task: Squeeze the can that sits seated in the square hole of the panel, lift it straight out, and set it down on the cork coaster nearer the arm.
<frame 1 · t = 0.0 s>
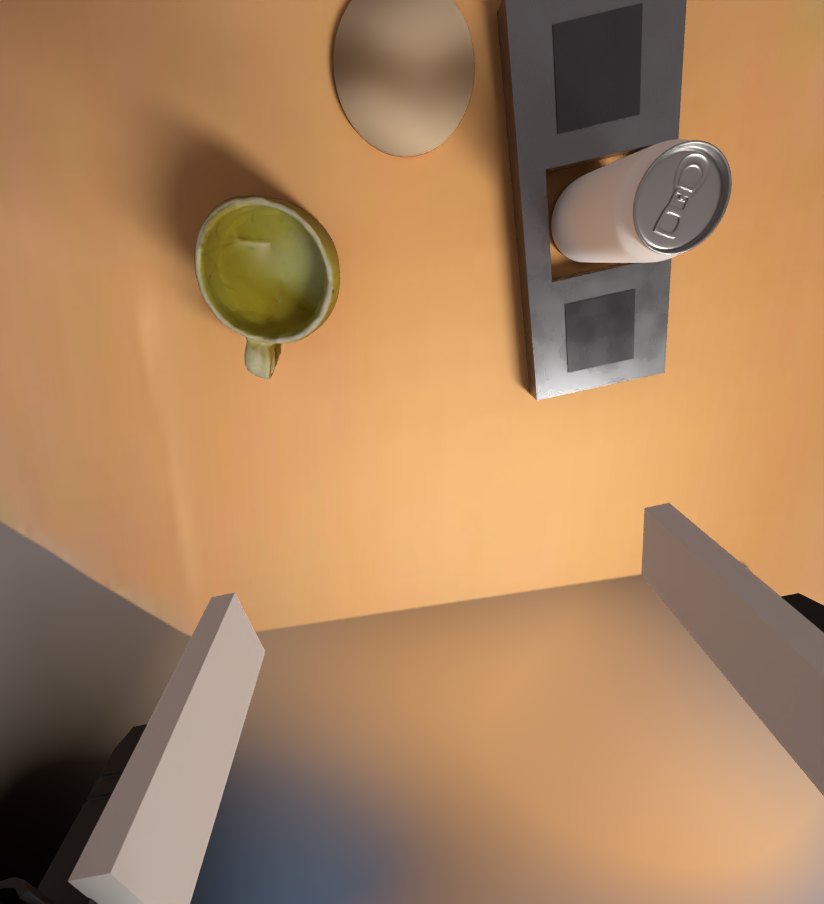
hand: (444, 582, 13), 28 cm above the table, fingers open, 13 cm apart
can: (586, 219, 35), resting in panel
coaster: (404, 72, 30), on the table
mug: (285, 288, 35), on the table
panel: (587, 219, 34), on the table
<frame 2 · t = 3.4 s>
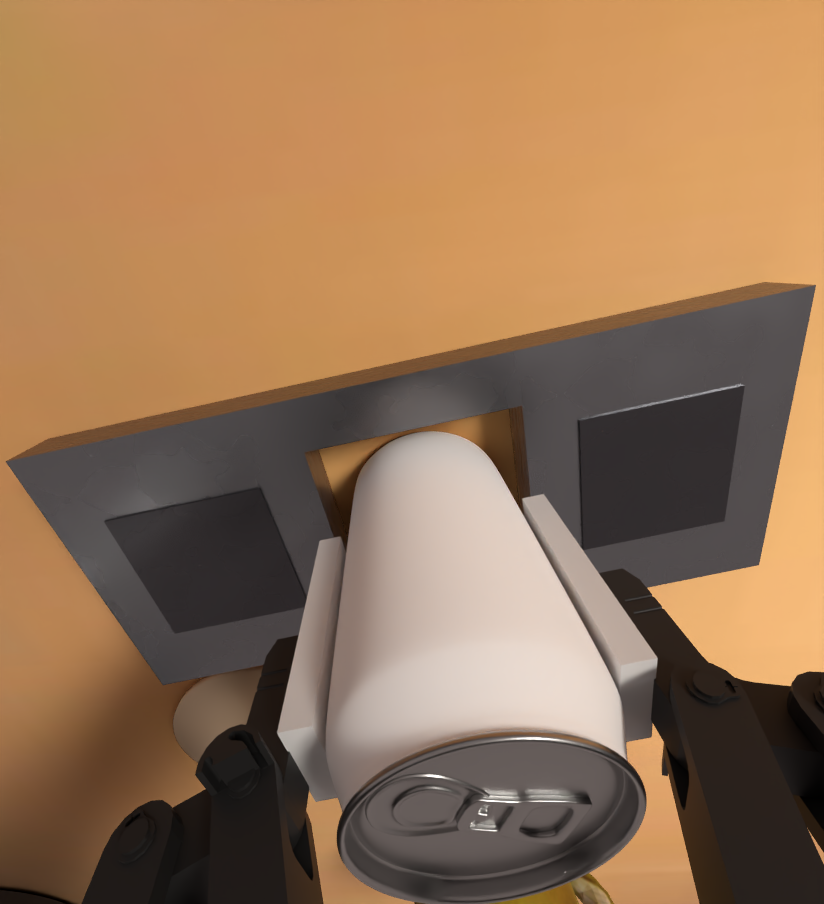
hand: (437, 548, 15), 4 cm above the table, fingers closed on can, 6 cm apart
can: (426, 492, 18), resting in panel, touching gripper
coaster: (266, 723, 24), on the table
mug: (493, 798, 30), on the table
panel: (427, 494, 18), on the table
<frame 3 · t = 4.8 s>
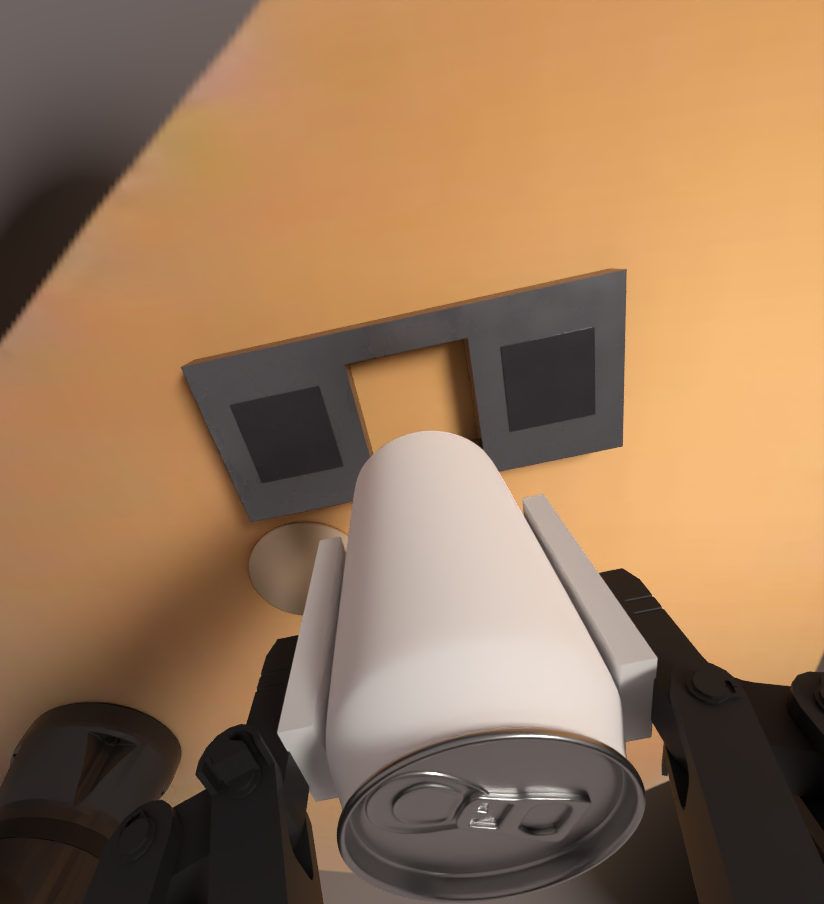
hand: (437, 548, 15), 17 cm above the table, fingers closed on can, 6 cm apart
can: (426, 491, 19), point 12 cm above the table, touching gripper
coaster: (309, 569, 36), on the table
panel: (416, 400, 30), on the table
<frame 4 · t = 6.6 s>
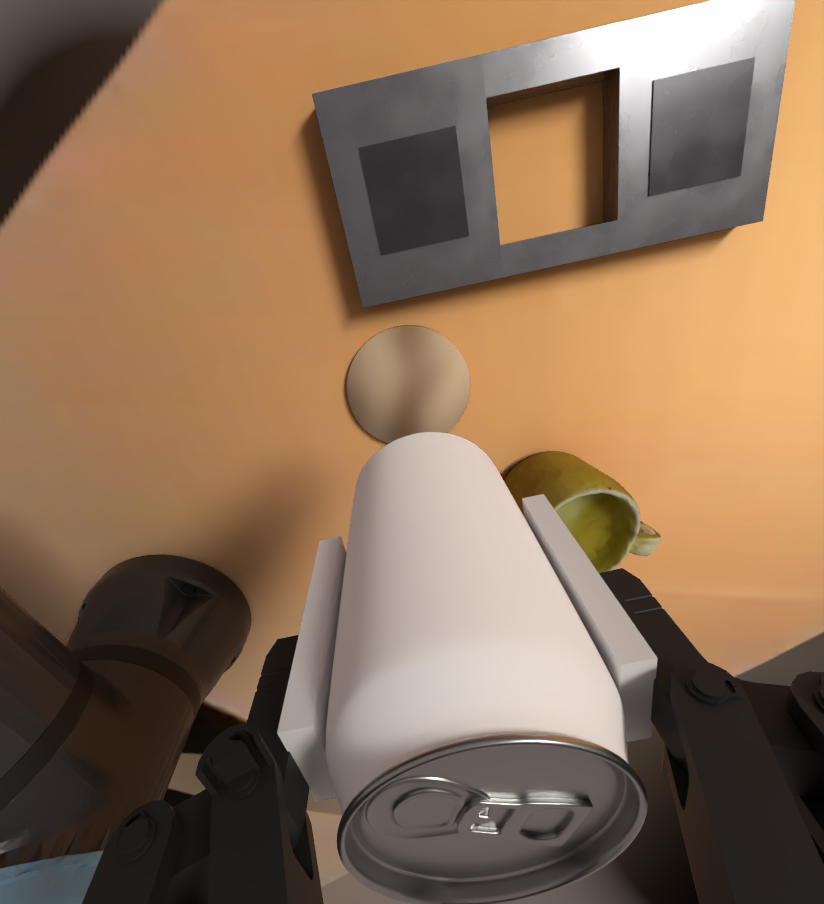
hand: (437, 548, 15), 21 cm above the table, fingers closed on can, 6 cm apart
can: (427, 493, 18), point 17 cm above the table, touching gripper
coaster: (408, 388, 34), on the table
mug: (559, 492, 39), on the table
panel: (544, 169, 28), on the table
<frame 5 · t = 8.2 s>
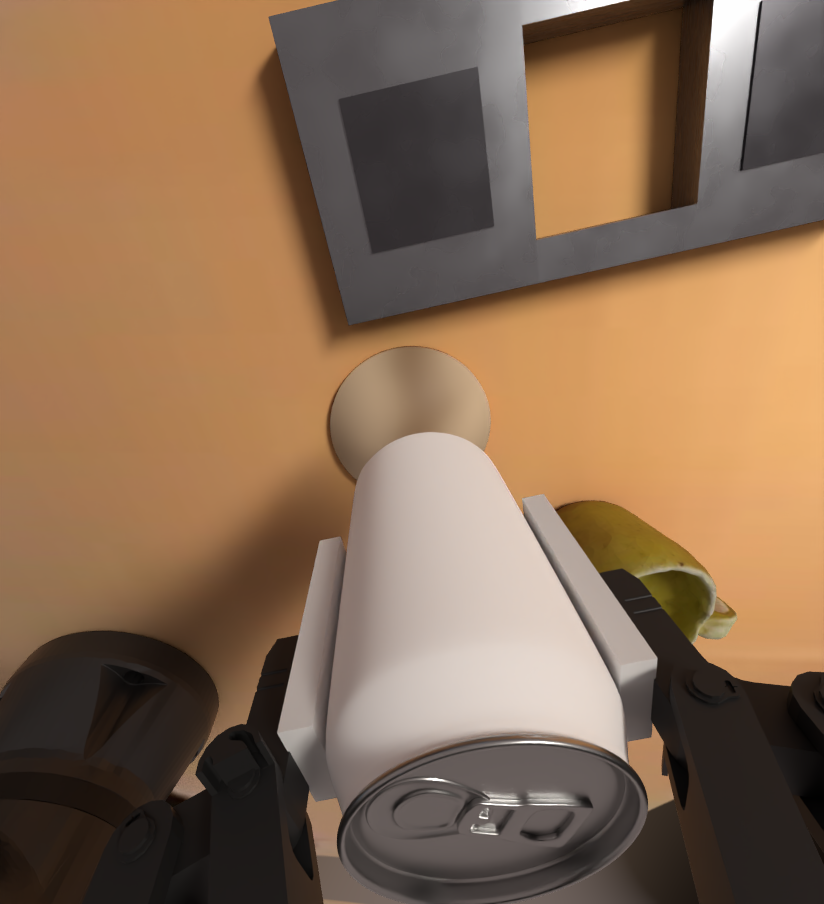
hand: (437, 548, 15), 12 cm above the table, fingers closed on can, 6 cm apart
can: (427, 493, 18), point 8 cm above the table, touching gripper
coaster: (410, 426, 26), on the table
mug: (598, 546, 32), on the table
panel: (596, 134, 20), on the table
when the fingers open (5 cm above the table, at t = 9.8 s): can drops 1 cm, resting on coaster.
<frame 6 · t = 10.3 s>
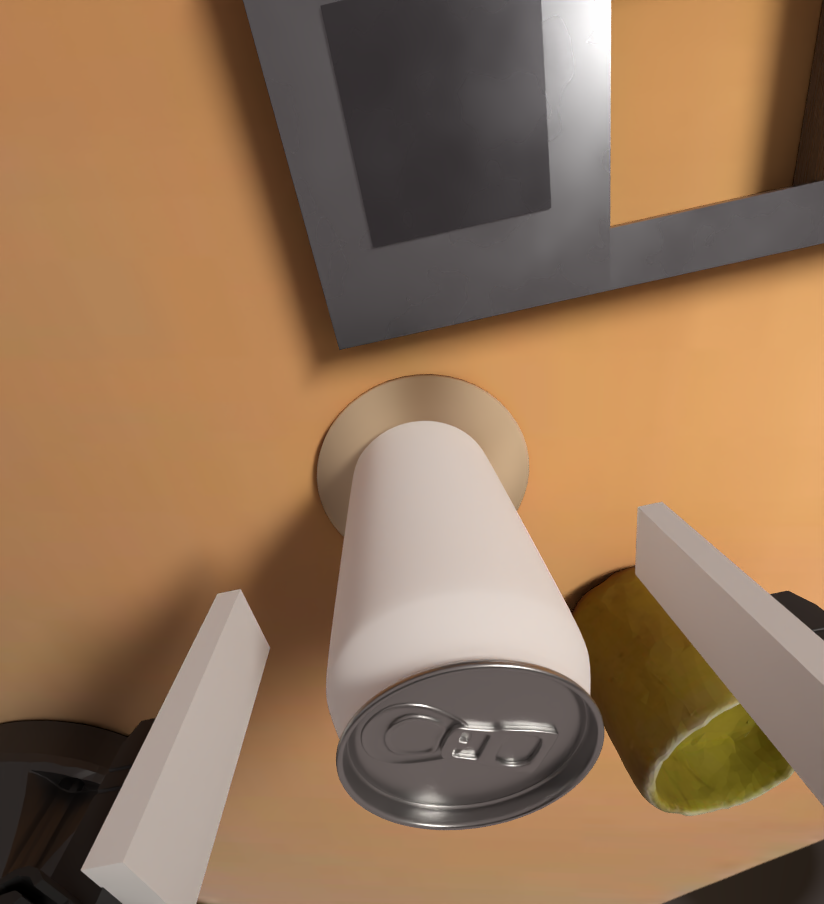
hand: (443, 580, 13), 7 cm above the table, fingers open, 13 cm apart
can: (421, 479, 20), resting on coaster
coaster: (423, 476, 20), on the table
mug: (654, 616, 25), on the table
panel: (697, 75, 14), on the table
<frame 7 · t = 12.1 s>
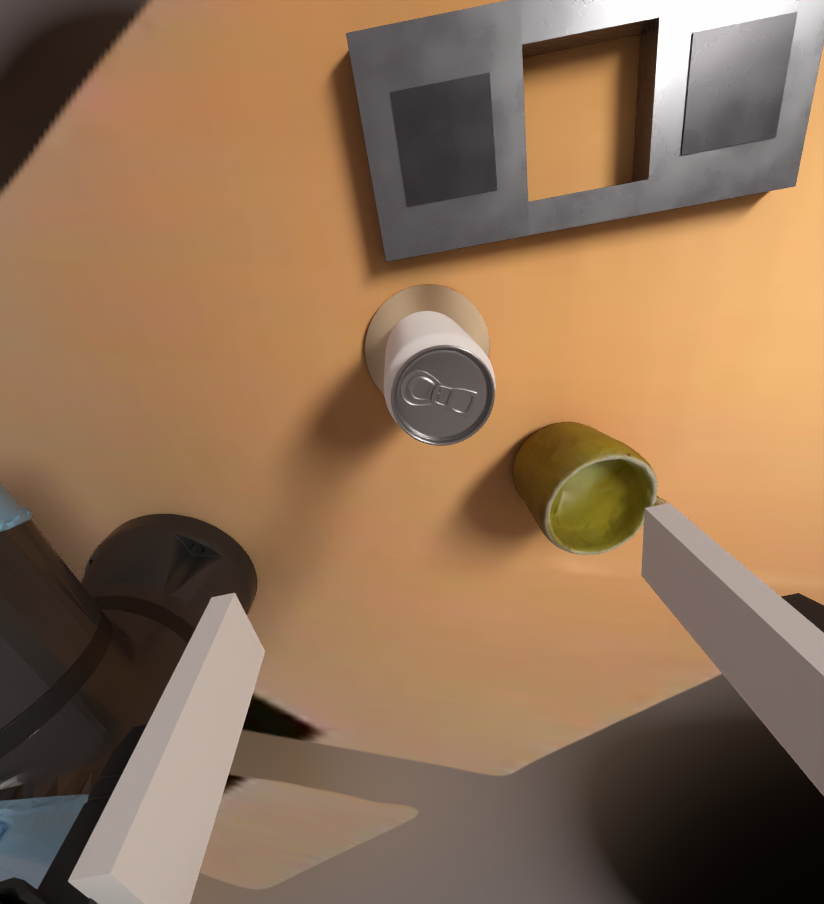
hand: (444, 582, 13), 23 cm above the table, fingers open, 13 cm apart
can: (425, 351, 33), resting on coaster
coaster: (427, 351, 33), on the table
mug: (573, 465, 39), on the table
panel: (576, 125, 27), on the table
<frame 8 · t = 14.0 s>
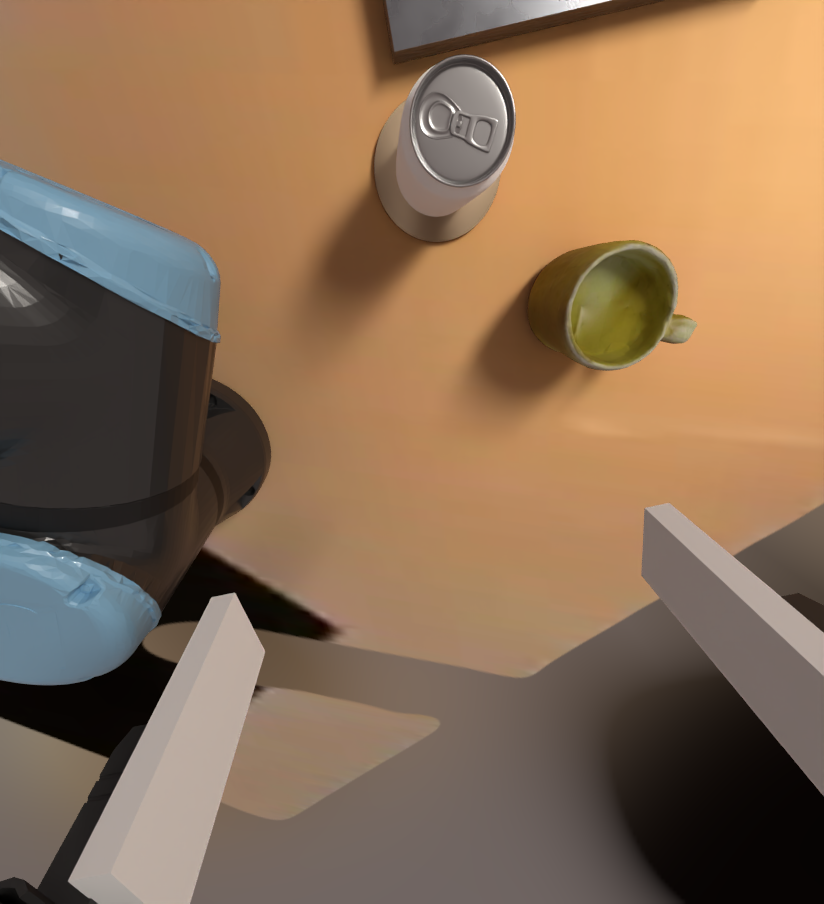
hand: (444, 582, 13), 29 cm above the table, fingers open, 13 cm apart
can: (436, 171, 33), resting on coaster
coaster: (437, 171, 33), on the table
mug: (588, 307, 38), on the table
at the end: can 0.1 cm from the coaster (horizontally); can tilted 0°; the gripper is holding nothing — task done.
